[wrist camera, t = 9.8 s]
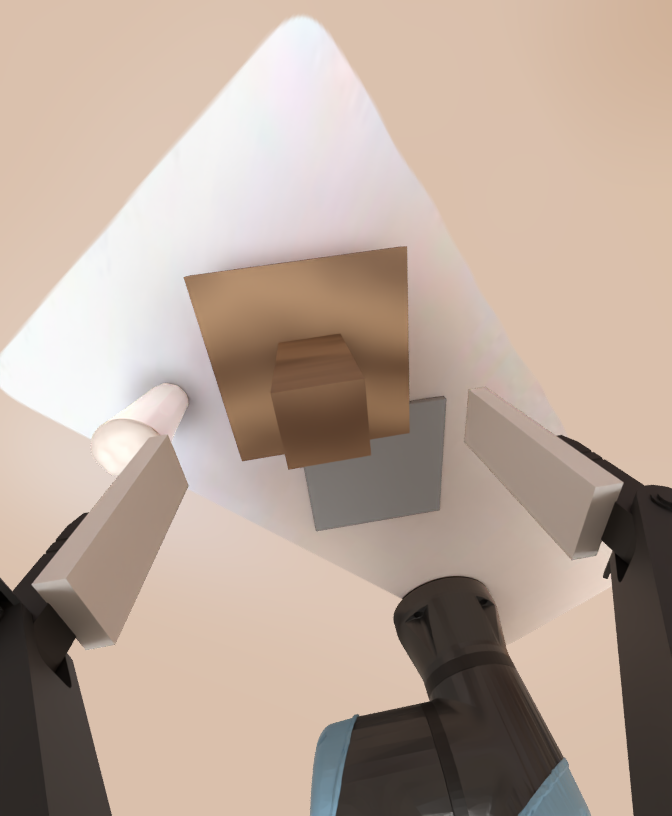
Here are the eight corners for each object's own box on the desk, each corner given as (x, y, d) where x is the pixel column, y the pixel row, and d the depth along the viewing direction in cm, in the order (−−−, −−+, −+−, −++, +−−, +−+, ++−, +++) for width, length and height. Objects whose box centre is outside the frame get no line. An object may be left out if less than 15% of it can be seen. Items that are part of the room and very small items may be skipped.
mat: (437, 506, 39) (439, 510, 38) (315, 527, 38) (316, 531, 37) (443, 396, 32) (446, 398, 31) (295, 418, 31) (295, 421, 30)
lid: (404, 425, 26) (456, 508, 17) (244, 452, 25) (220, 550, 17) (400, 246, 20) (476, 245, 12) (189, 275, 19) (111, 296, 11)
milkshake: (180, 435, 30) (134, 512, 21) (131, 397, 28) (56, 465, 19) (214, 407, 29) (180, 475, 21) (166, 365, 27) (104, 422, 18)
